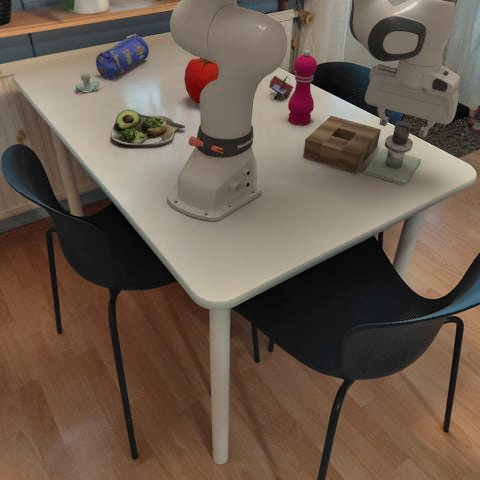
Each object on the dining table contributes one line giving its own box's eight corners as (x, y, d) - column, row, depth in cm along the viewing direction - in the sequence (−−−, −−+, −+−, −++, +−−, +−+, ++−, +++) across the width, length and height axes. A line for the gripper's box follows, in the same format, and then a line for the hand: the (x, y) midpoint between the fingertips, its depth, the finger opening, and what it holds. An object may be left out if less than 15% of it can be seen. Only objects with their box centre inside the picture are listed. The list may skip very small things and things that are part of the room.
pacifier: (72, 89, 157) (78, 95, 153) (68, 69, 153) (74, 75, 149) (95, 85, 160) (102, 91, 156) (92, 65, 156) (98, 71, 152)
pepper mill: (310, 127, 140) (319, 55, 128) (285, 124, 141) (291, 53, 129) (313, 116, 146) (322, 46, 133) (288, 113, 147) (295, 43, 134)
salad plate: (187, 118, 143) (186, 103, 140) (182, 150, 129) (182, 134, 126) (119, 117, 142) (116, 102, 140) (107, 149, 129) (104, 133, 126)
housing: (354, 173, 122) (358, 155, 119) (303, 156, 128) (305, 139, 125) (377, 146, 133) (381, 129, 130) (328, 132, 138) (331, 115, 135)
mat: (404, 185, 119) (405, 182, 118) (364, 173, 122) (365, 170, 122) (420, 162, 127) (421, 159, 127) (382, 150, 131) (383, 148, 131)
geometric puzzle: (300, 89, 155) (288, 66, 152) (293, 97, 150) (280, 74, 148) (282, 99, 160) (269, 76, 157) (274, 107, 155) (261, 84, 152)
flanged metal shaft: (402, 174, 121) (413, 133, 114) (376, 166, 124) (385, 126, 117) (409, 162, 125) (420, 123, 118) (385, 155, 128) (394, 116, 121)
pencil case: (130, 56, 179) (127, 29, 173) (152, 60, 177) (149, 32, 171) (96, 78, 163) (91, 49, 157) (119, 83, 161) (115, 53, 155)
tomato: (195, 90, 158) (193, 47, 149) (232, 97, 155) (233, 53, 146) (178, 106, 148) (175, 61, 140) (217, 114, 145) (217, 68, 137)
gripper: (367, 66, 111) (355, 123, 120) (461, 88, 103) (441, 147, 112) (376, 58, 116) (365, 114, 124) (467, 78, 108) (448, 136, 116)
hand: (402, 130), depth 118 cm, fingers open, 8 cm apart
